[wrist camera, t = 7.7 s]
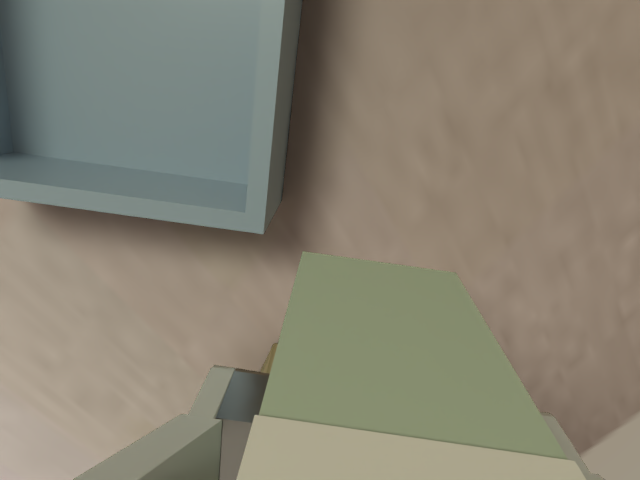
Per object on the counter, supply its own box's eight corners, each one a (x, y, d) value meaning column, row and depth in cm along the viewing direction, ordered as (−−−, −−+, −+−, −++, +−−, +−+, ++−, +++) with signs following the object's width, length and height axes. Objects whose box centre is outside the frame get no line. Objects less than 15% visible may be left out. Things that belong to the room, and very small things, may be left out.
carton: (457, 271, 12) (817, 855, 3) (424, 399, 14) (590, 1050, 4) (301, 249, 12) (158, 755, 3) (285, 379, 14) (160, 980, 5)
